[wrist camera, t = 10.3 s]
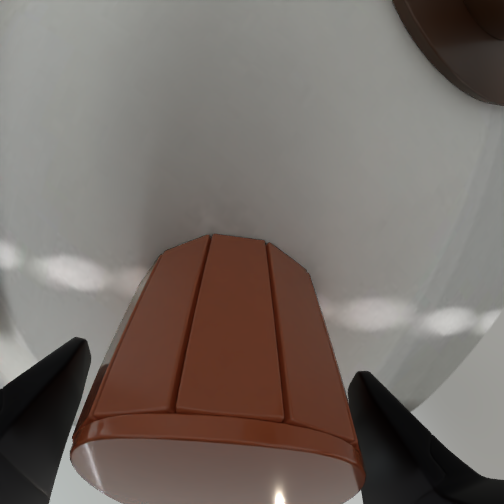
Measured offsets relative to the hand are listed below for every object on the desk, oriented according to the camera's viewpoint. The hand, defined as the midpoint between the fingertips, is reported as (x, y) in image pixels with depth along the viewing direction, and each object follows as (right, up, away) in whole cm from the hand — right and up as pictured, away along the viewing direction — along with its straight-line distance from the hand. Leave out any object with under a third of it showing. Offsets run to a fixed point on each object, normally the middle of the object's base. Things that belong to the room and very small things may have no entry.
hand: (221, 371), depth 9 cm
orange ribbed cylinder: (0, +1, +2) cm, 3 cm away
